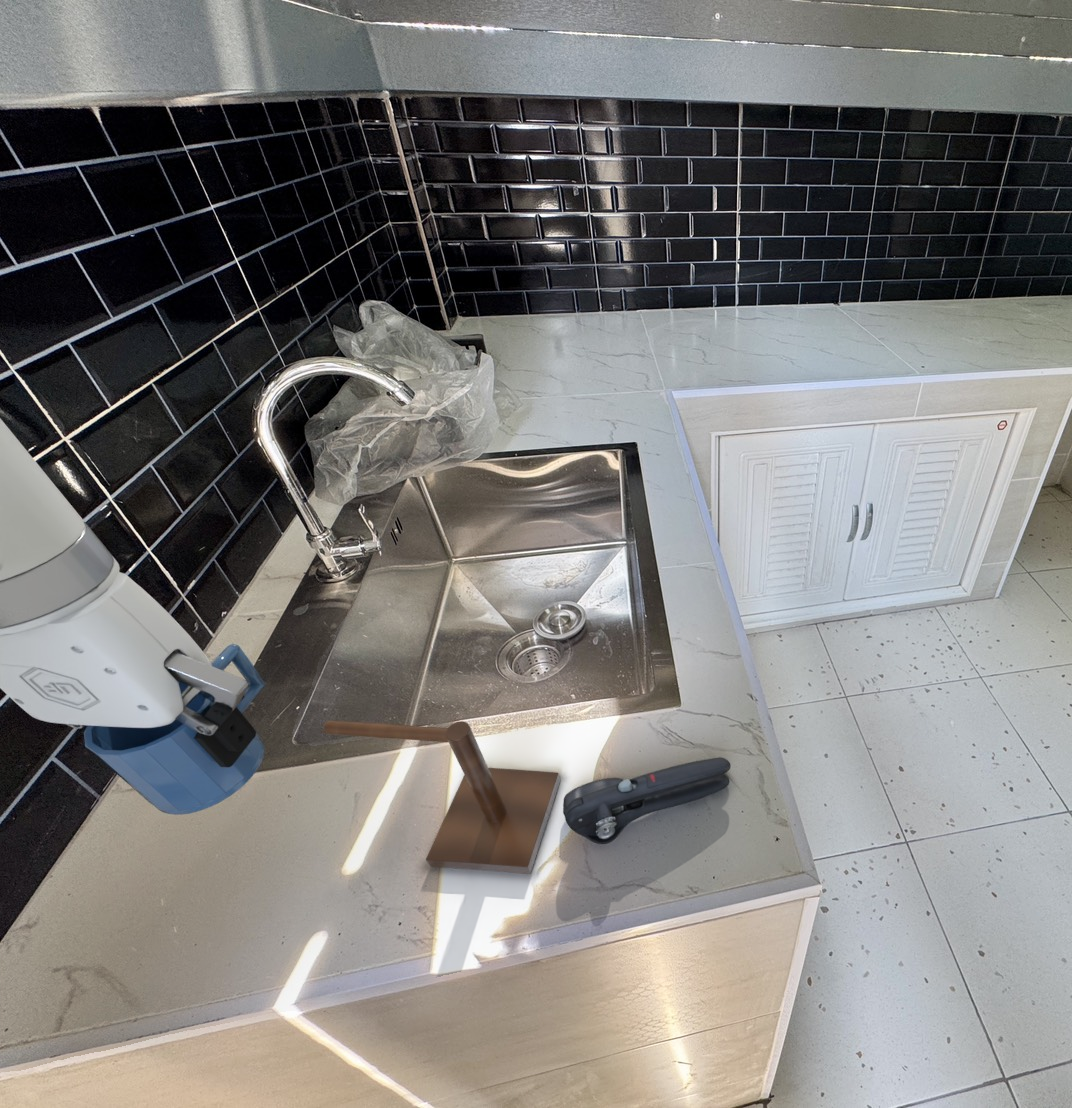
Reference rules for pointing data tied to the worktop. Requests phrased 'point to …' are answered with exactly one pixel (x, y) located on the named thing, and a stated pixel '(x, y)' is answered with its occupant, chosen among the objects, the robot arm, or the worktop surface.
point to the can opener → (639, 797)
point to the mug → (180, 753)
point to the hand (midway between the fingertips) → (187, 746)
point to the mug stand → (478, 802)
